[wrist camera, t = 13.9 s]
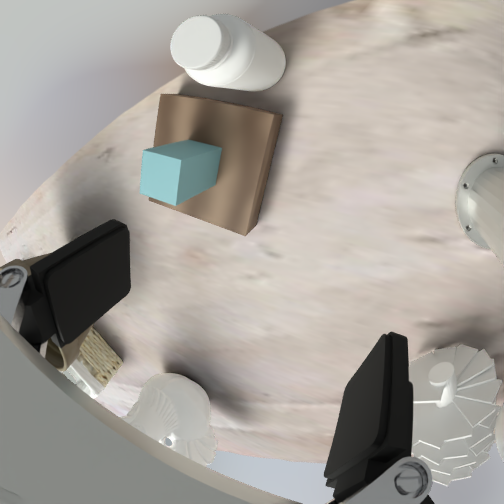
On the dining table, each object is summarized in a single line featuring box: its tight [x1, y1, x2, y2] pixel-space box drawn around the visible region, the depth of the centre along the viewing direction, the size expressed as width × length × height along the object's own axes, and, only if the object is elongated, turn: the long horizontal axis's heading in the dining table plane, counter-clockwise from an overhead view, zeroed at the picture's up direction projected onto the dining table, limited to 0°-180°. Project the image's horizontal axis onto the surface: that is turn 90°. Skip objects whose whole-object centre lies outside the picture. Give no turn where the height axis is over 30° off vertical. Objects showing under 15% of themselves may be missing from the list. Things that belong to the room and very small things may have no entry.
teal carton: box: [140, 140, 222, 206], centre depth 33 cm, size 5×5×9 cm
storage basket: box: [59, 327, 123, 398], centre depth 75 cm, size 24×16×15 cm
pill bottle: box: [170, 14, 286, 91], centre depth 26 cm, size 8×8×15 cm
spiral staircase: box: [409, 344, 502, 486], centre depth 34 cm, size 18×18×25 cm
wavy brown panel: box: [149, 94, 283, 236], centre depth 39 cm, size 16×16×4 cm
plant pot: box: [0, 253, 94, 371], centre depth 55 cm, size 25×25×22 cm
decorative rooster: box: [119, 373, 218, 467], centre depth 60 cm, size 25×16×25 cm, turn 32°
